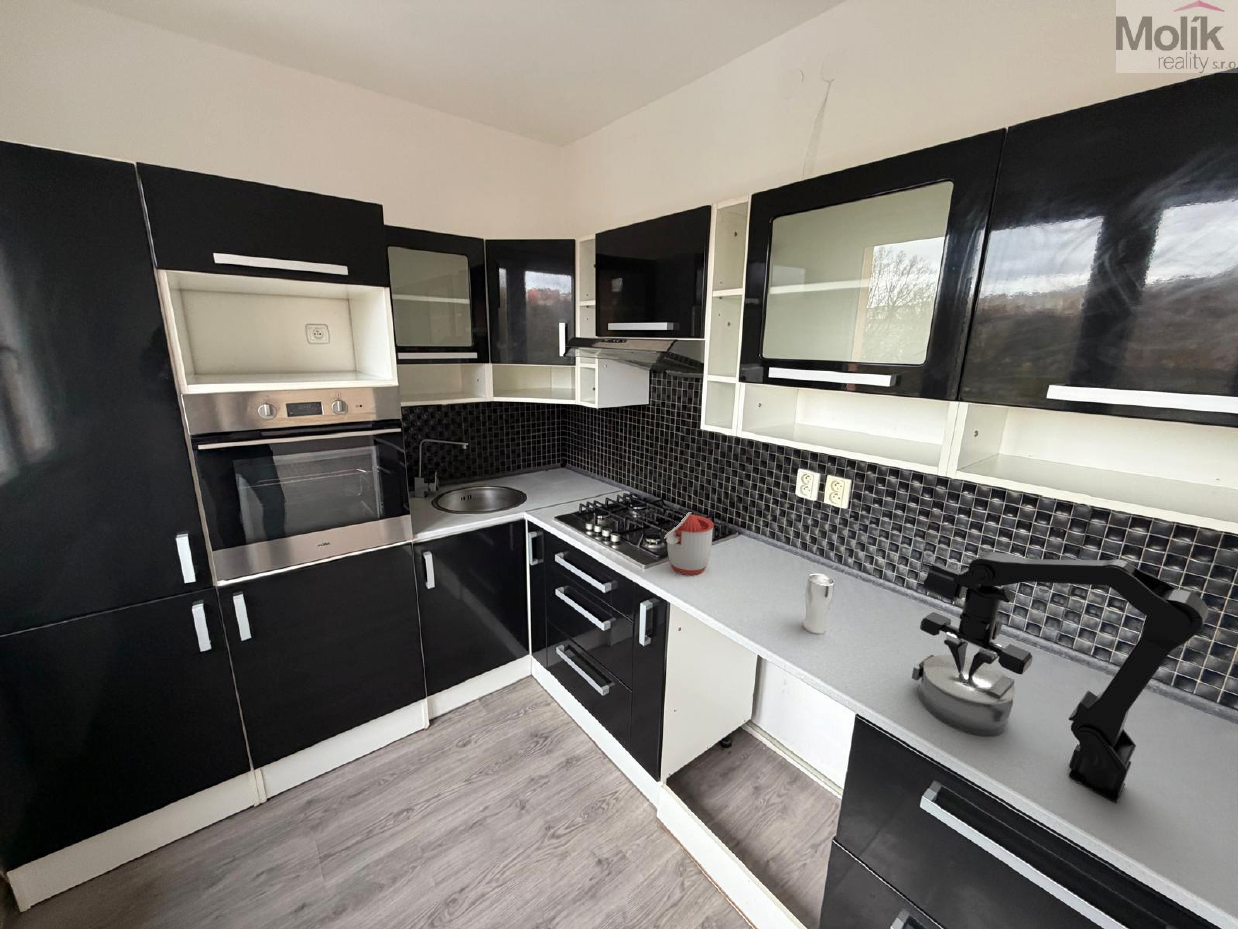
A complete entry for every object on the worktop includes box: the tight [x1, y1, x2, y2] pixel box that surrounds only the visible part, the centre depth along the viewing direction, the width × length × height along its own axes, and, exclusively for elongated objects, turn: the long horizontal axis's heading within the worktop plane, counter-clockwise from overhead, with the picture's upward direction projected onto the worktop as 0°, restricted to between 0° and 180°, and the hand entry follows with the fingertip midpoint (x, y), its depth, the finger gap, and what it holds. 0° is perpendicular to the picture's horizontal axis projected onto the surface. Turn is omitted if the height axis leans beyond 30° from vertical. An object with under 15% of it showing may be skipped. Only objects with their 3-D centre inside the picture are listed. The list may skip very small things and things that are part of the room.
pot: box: [911, 655, 1014, 738], centre depth 106 cm, size 17×16×6 cm
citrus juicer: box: [665, 513, 715, 576], centre depth 165 cm, size 16×17×20 cm
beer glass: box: [802, 573, 835, 635], centre depth 132 cm, size 7×7×15 cm
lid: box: [919, 654, 1016, 705], centre depth 104 cm, size 16×16×2 cm
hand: (965, 674), depth 104 cm, fingers closed
